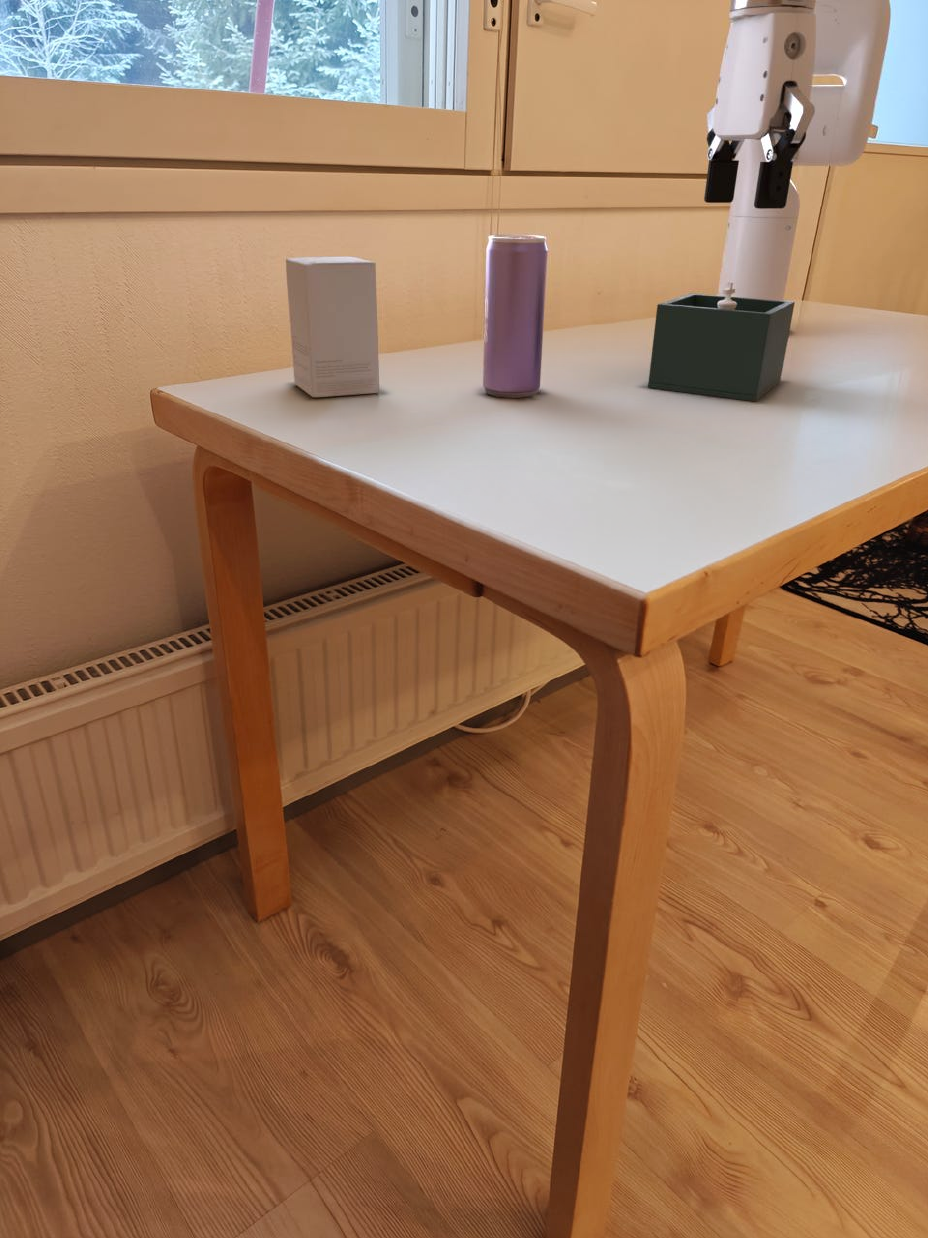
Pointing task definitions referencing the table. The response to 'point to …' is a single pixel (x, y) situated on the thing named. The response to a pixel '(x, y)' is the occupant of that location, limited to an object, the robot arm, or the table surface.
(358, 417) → the table surface
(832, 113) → the robot arm
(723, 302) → the chess piece
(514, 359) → the beverage can
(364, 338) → the white packaging box
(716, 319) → the bin
